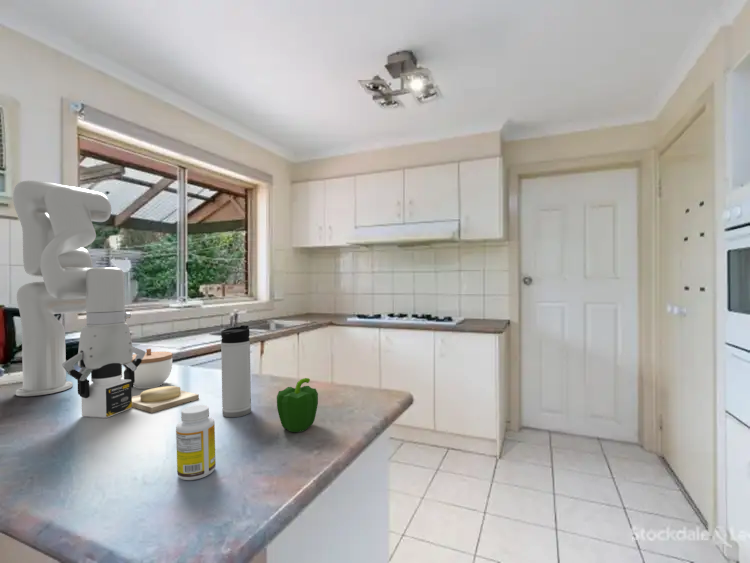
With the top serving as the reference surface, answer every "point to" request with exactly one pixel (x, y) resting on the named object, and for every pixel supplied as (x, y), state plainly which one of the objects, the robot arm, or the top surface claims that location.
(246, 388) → the travel mug
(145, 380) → the lidded bowl
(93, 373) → the medicine bottle
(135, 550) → the top surface
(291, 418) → the bell pepper
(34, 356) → the robot arm
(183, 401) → the board
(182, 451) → the supplement bottle
